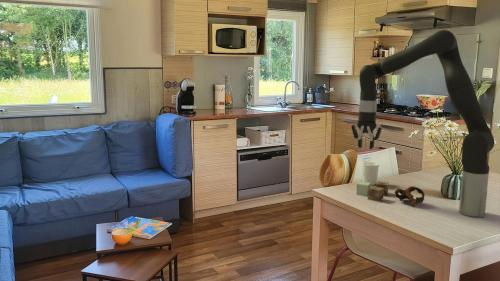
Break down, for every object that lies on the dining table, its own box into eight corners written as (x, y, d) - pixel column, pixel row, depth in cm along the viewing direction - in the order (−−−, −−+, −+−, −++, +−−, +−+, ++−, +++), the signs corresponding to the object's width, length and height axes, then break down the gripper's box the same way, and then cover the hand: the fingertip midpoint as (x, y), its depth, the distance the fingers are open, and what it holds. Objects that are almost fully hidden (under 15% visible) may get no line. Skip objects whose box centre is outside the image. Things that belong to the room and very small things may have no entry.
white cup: (360, 184, 218) (361, 165, 216) (361, 180, 225) (362, 161, 224) (377, 186, 216) (378, 166, 214) (377, 182, 223) (378, 162, 221)
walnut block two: (383, 199, 196) (383, 187, 195) (378, 201, 192) (379, 190, 191) (372, 196, 199) (373, 185, 198) (367, 199, 195) (368, 188, 194)
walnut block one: (387, 192, 205) (388, 182, 204) (386, 195, 200) (387, 184, 199) (376, 191, 207) (377, 180, 206) (375, 194, 202) (376, 183, 201)
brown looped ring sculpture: (418, 200, 195) (425, 187, 190) (419, 216, 188) (427, 203, 183) (391, 192, 196) (398, 179, 191) (391, 207, 189) (398, 194, 184)
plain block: (370, 193, 204) (371, 183, 203) (367, 196, 200) (367, 185, 199) (359, 191, 206) (360, 181, 206) (356, 194, 202) (356, 183, 201)
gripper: (386, 110, 196) (383, 148, 199) (354, 108, 203) (353, 145, 206) (381, 112, 189) (379, 151, 192) (349, 110, 197) (347, 148, 200)
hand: (365, 148), depth 199 cm, fingers open, 4 cm apart
